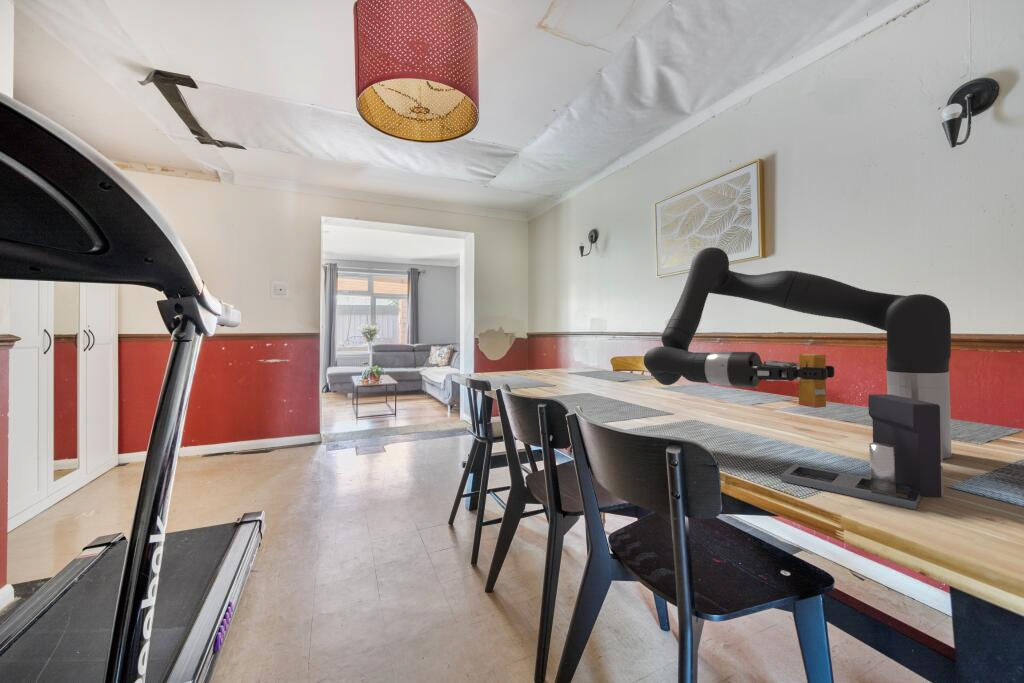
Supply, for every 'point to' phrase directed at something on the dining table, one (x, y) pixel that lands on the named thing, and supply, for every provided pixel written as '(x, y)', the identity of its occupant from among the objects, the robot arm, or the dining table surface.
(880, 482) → the steel pin
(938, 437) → the black coffee maker
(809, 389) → the supplement box
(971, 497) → the dining table surface
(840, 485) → the hole plate
